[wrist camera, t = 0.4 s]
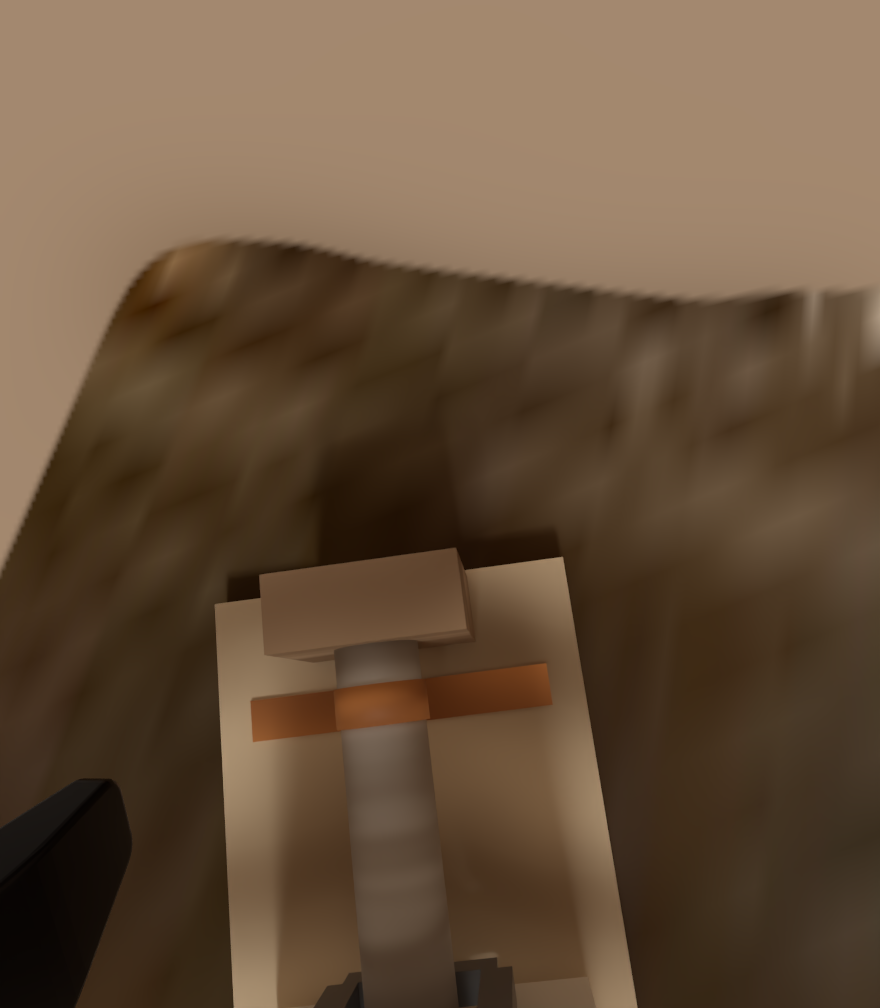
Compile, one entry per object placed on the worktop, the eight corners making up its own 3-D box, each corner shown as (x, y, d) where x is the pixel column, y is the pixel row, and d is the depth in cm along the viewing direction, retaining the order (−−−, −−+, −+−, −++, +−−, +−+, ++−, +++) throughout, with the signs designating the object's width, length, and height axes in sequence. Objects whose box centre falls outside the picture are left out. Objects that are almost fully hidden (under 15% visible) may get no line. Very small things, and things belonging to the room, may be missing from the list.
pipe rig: (672, 1239, 20) (736, 1455, 14) (260, 1274, 20) (165, 1494, 15) (560, 562, 24) (575, 523, 19) (226, 607, 25) (143, 583, 19)
